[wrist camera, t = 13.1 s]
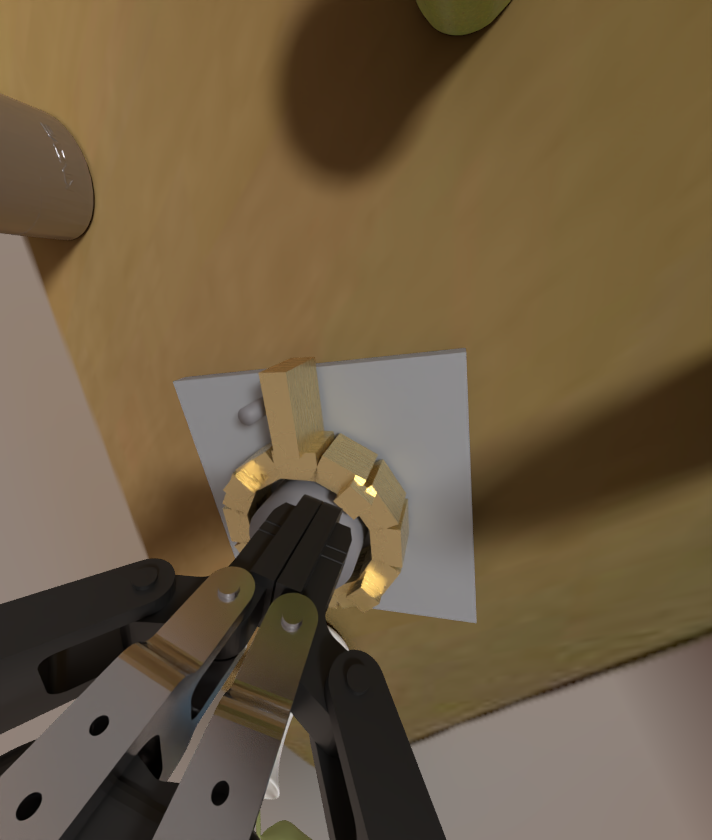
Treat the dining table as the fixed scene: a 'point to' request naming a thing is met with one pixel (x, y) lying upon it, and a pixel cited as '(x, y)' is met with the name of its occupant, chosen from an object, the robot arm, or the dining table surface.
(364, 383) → the boss plate
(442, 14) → the plant pot
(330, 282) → the dining table surface
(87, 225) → the robot arm
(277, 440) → the segmented wooden ring
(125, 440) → the dining table surface
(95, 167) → the dining table surface
